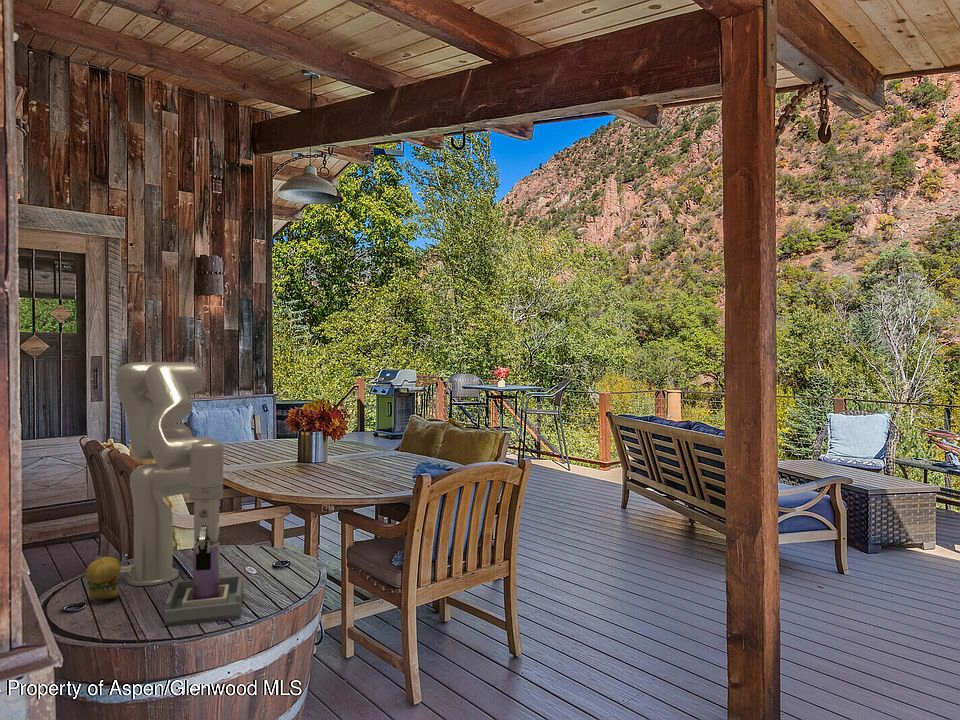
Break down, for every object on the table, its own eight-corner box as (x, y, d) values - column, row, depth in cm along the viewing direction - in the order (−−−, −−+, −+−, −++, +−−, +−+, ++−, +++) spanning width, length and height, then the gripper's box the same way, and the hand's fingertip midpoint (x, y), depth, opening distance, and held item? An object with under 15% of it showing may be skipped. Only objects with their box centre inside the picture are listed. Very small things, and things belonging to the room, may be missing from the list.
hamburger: (126, 595, 164) (126, 548, 164) (113, 605, 156) (113, 556, 156) (94, 596, 163) (94, 549, 163) (79, 607, 156) (79, 557, 156)
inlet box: (164, 627, 144) (164, 604, 144) (174, 601, 159) (174, 581, 159) (240, 618, 149) (240, 596, 149) (243, 594, 164) (243, 574, 164)
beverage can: (209, 611, 151) (209, 547, 151) (187, 608, 152) (187, 545, 152) (224, 601, 156) (224, 540, 156) (202, 599, 158) (203, 539, 158)
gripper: (220, 499, 147) (219, 573, 147) (225, 484, 163) (224, 550, 164) (184, 501, 145) (183, 576, 145) (193, 485, 161) (192, 553, 161)
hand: (205, 562), depth 154 cm, fingers open, 9 cm apart
